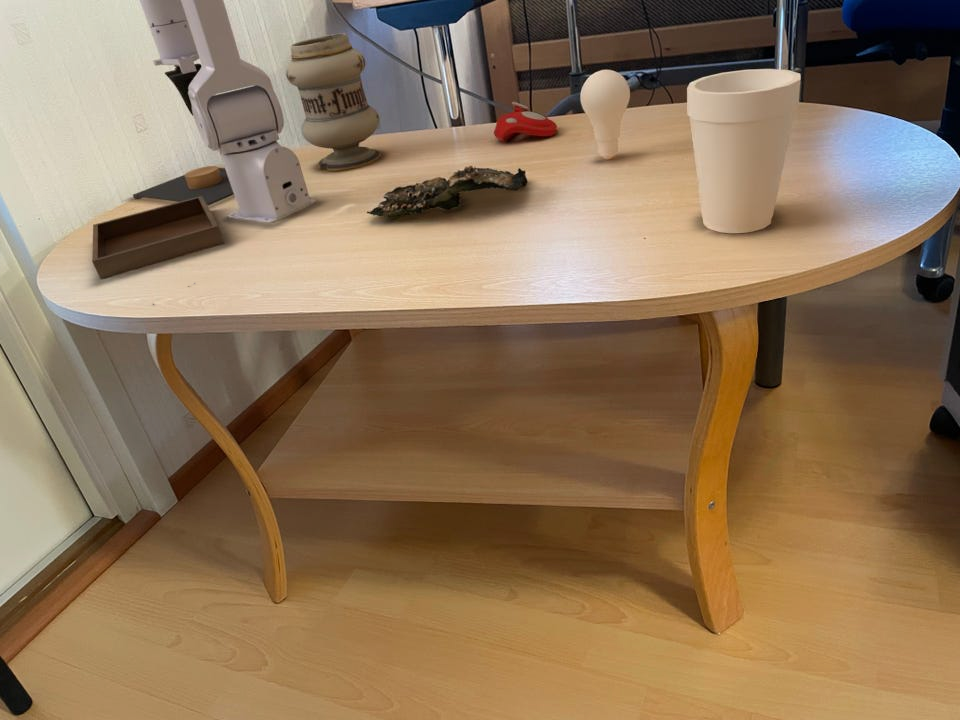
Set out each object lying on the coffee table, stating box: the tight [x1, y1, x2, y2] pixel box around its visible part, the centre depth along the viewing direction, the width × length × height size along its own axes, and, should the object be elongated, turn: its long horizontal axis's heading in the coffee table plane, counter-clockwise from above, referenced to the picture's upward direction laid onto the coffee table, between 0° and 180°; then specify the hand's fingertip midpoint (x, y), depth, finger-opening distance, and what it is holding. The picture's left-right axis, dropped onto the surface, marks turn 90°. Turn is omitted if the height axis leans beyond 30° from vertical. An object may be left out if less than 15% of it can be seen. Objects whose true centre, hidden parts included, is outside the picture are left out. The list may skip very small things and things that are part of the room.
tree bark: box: [366, 165, 529, 219], centre depth 85 cm, size 19×6×15 cm
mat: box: [132, 167, 234, 206], centre depth 110 cm, size 20×14×1 cm
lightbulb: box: [579, 69, 631, 160], centre depth 89 cm, size 6×6×11 cm
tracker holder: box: [493, 101, 558, 142], centre depth 108 cm, size 12×4×10 cm
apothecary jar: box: [285, 33, 381, 172], centre depth 106 cm, size 12×12×18 cm
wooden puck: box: [183, 165, 222, 189], centre depth 109 cm, size 5×5×2 cm
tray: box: [91, 196, 225, 280], centre depth 88 cm, size 16×14×3 cm
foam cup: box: [686, 68, 802, 234], centre depth 65 cm, size 10×9×13 cm
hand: (201, 117), depth 110 cm, fingers open, 7 cm apart
